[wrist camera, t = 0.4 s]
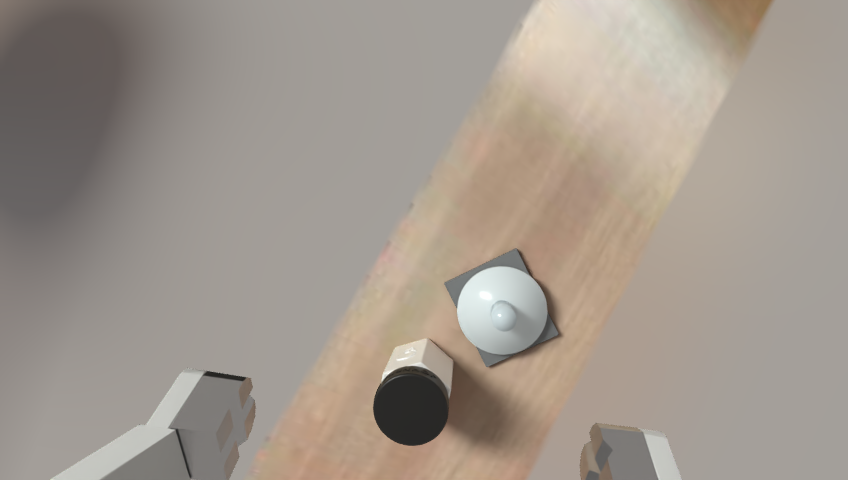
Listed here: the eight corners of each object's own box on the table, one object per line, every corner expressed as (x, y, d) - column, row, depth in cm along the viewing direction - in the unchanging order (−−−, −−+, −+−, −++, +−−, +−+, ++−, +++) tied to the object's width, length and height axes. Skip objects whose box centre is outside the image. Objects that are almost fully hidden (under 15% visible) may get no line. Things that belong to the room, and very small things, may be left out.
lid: (560, 329, 62) (569, 341, 57) (481, 365, 63) (482, 381, 58) (522, 250, 61) (527, 256, 56) (442, 288, 63) (440, 297, 58)
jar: (443, 330, 64) (438, 363, 52) (462, 389, 65) (461, 434, 53) (378, 350, 65) (358, 386, 53) (398, 407, 66) (382, 455, 54)
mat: (557, 332, 63) (558, 334, 62) (486, 365, 64) (486, 367, 63) (516, 248, 62) (516, 248, 61) (444, 282, 63) (444, 283, 63)
